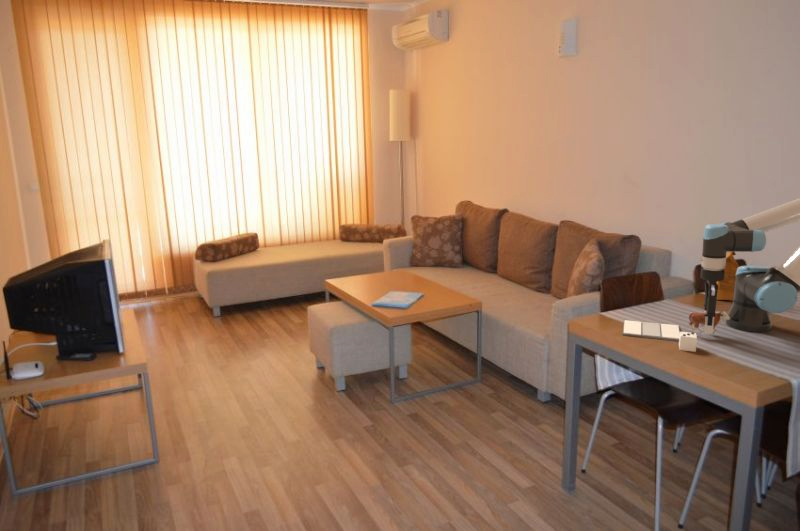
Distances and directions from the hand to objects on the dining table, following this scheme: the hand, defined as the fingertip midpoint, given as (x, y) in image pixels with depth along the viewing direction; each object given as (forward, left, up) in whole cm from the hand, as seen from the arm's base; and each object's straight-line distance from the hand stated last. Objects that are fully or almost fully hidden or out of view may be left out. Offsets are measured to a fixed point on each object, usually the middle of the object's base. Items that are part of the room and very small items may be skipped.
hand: (707, 330), depth 218 cm
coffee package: (-12, -56, -2) cm, 57 cm away
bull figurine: (0, 0, -1) cm, 1 cm away
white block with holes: (+8, +15, -2) cm, 17 cm away
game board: (+19, +1, -2) cm, 19 cm away
